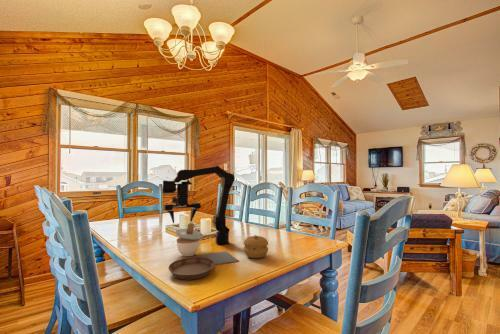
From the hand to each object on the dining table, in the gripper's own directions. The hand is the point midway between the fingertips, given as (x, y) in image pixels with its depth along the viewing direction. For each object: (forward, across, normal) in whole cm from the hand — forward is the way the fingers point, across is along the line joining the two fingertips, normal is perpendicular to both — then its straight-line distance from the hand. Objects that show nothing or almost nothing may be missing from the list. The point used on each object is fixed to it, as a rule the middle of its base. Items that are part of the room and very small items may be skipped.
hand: (182, 222), depth 139 cm
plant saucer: (+13, +4, +38) cm, 40 cm away
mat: (+13, -10, +26) cm, 31 cm away
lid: (+3, 0, +15) cm, 15 cm away
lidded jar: (+13, 0, +15) cm, 20 cm away
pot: (+13, -28, +31) cm, 44 cm away
